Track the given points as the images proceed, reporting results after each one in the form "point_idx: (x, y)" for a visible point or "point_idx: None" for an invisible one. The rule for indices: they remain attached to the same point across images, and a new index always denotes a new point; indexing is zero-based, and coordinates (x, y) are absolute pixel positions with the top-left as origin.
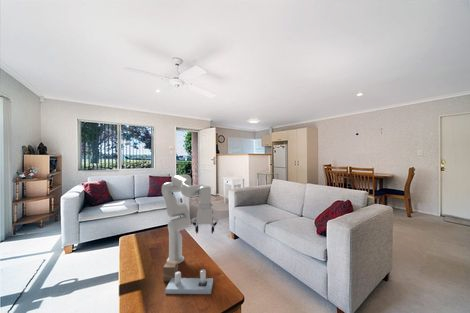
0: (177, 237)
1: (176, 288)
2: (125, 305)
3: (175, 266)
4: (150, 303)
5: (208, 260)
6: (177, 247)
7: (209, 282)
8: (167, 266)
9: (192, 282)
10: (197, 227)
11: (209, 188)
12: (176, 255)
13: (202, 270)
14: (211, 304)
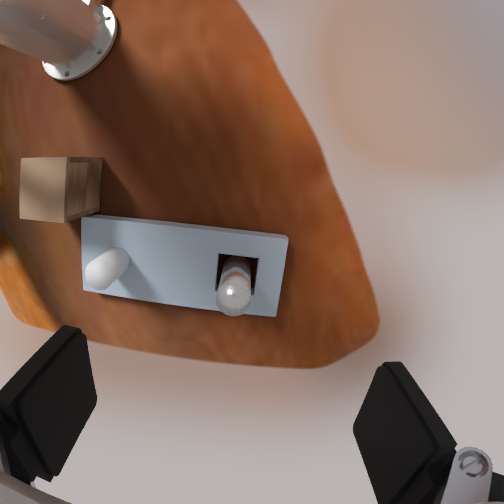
0: (3, 18)
1: (122, 292)
2: (14, 311)
3: (68, 201)
4: (67, 318)
5: (256, 35)
6: (43, 37)
7: (269, 270)
8: (34, 215)
9: (183, 261)
10: (55, 472)
11: None
12: (64, 54)
13: (231, 296)
14: (275, 353)
